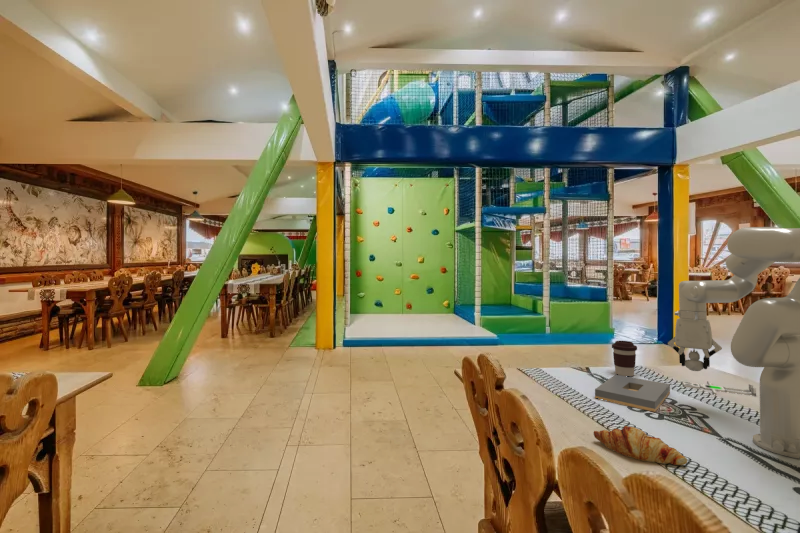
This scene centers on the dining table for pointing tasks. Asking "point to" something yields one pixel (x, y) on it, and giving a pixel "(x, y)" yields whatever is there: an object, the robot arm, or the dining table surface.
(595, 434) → the croissant
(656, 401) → the block
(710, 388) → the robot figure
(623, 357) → the coffee cup
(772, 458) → the dining table surface
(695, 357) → the rubber duck
